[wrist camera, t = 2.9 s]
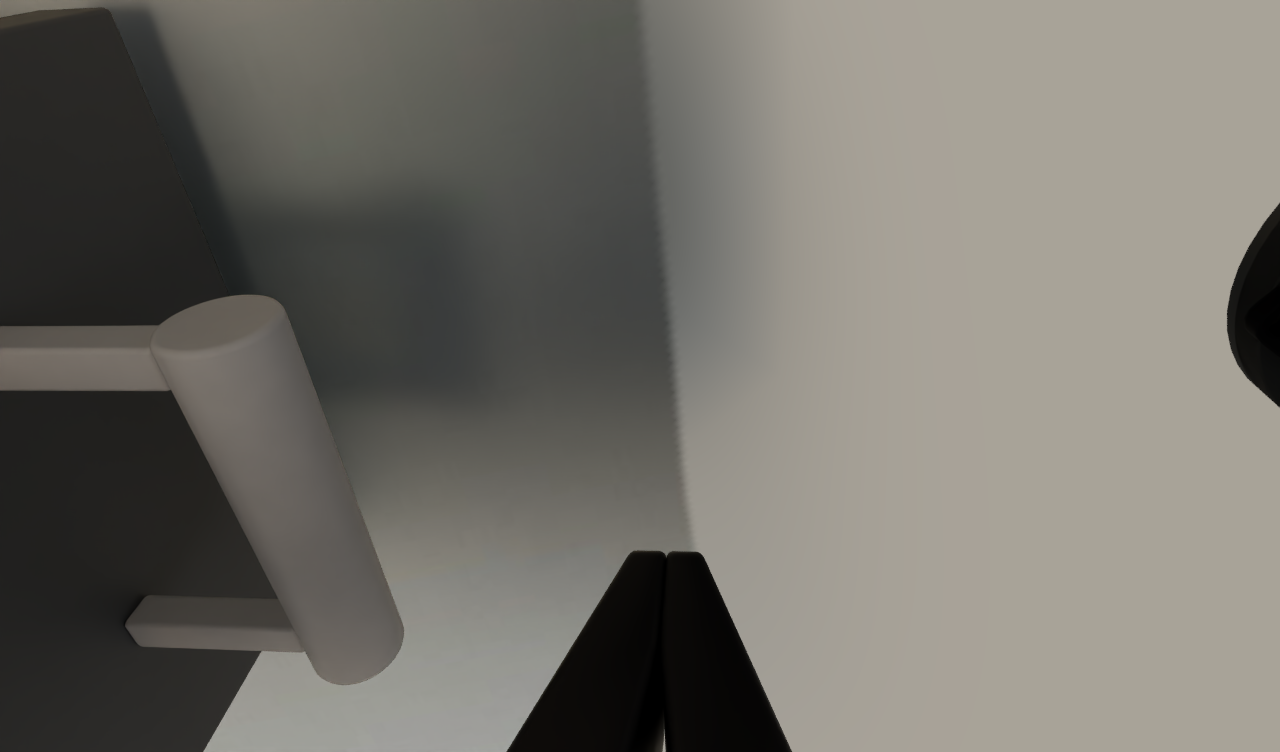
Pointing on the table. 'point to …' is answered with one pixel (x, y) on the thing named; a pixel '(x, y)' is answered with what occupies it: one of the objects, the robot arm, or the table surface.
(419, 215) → the table surface
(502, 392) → the table surface
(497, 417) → the table surface
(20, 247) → the drawer
